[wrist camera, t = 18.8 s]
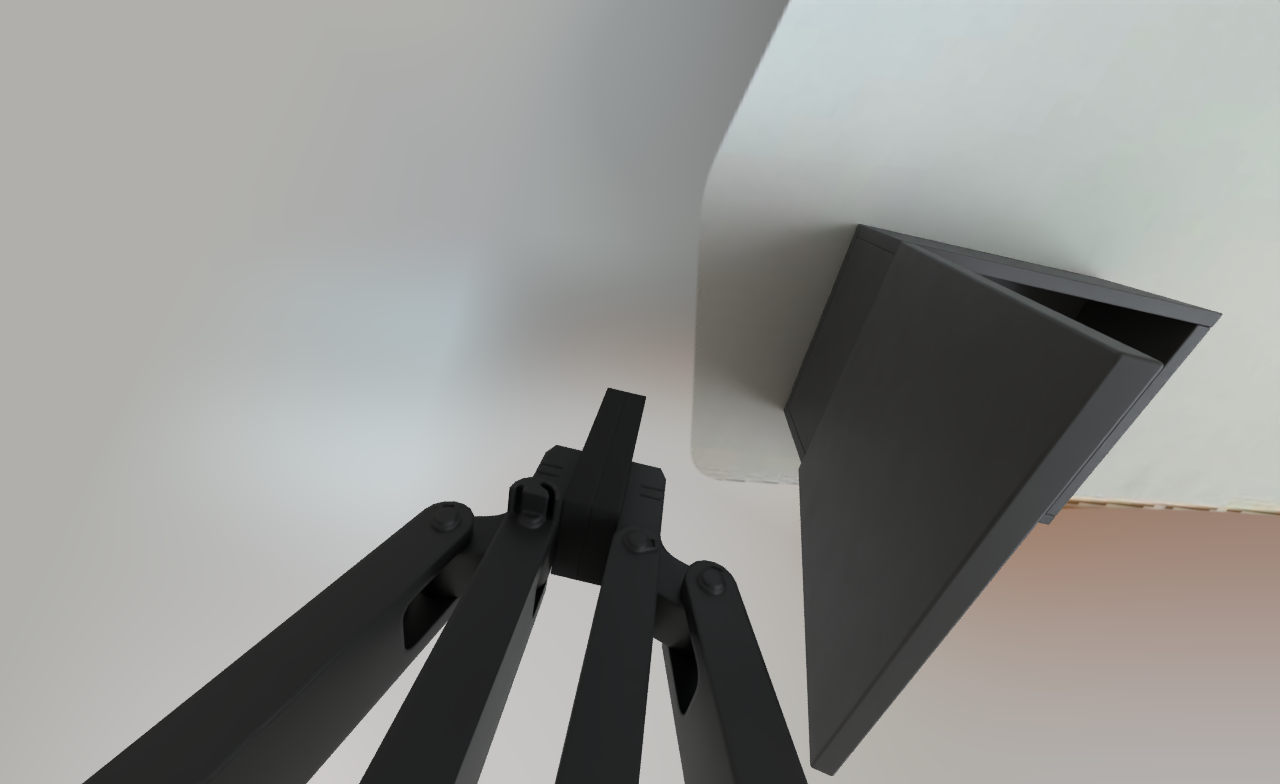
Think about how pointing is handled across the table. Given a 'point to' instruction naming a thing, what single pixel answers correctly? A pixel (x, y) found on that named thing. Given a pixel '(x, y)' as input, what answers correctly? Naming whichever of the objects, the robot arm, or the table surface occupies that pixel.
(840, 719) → the lid
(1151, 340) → the box
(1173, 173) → the table surface
